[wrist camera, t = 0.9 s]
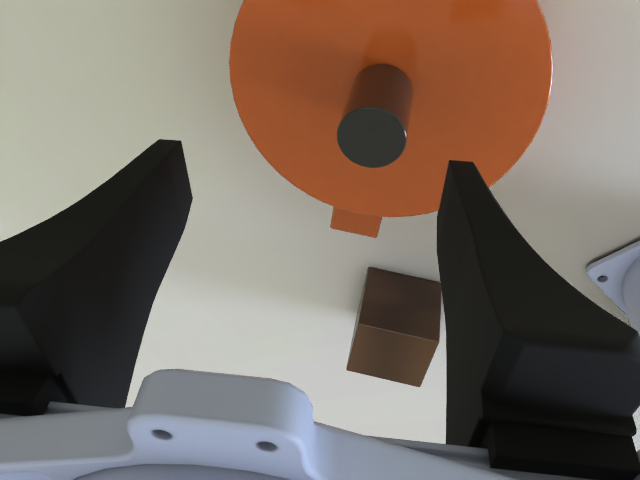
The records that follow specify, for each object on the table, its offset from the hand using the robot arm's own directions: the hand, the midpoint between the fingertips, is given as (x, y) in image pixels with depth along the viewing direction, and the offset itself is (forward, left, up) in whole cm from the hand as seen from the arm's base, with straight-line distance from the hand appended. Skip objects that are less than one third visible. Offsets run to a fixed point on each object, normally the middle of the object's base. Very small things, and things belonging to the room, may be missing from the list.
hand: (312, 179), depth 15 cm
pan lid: (-2, 0, -8) cm, 8 cm away
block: (-14, +11, -12) cm, 21 cm away
